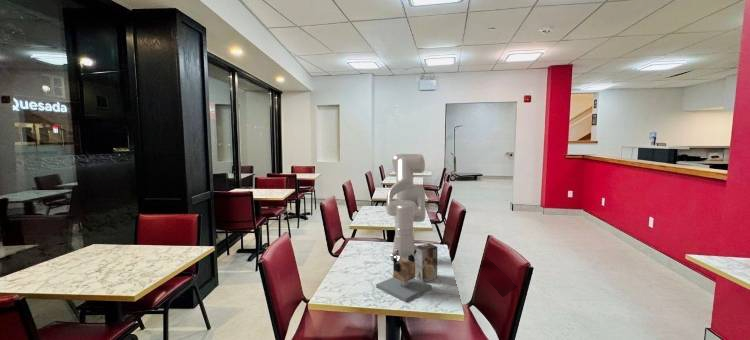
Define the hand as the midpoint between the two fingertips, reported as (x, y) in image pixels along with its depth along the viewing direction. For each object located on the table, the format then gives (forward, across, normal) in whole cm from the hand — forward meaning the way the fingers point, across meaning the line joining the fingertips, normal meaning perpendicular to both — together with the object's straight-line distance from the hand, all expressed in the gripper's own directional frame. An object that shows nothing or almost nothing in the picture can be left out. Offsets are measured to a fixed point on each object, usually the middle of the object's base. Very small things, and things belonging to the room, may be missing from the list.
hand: (404, 267), depth 141 cm
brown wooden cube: (+4, +1, +1) cm, 4 cm away
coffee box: (+10, -15, +1) cm, 18 cm away
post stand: (+9, +1, +1) cm, 9 cm away
